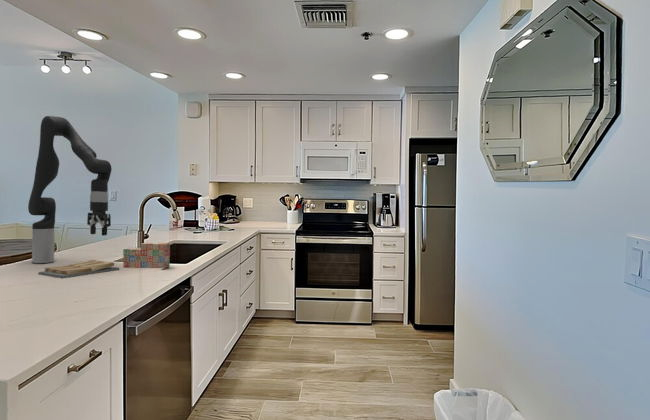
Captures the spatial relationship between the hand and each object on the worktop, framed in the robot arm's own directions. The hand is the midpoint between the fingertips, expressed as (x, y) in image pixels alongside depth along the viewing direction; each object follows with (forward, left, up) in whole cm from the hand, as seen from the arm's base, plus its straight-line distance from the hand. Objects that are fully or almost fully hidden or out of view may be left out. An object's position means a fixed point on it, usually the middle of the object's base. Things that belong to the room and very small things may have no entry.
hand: (98, 234), depth 193 cm
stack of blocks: (+12, +18, -17) cm, 27 cm away
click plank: (-1, -8, -14) cm, 17 cm away
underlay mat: (-1, -8, -17) cm, 19 cm away
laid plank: (-1, -14, -17) cm, 22 cm away
